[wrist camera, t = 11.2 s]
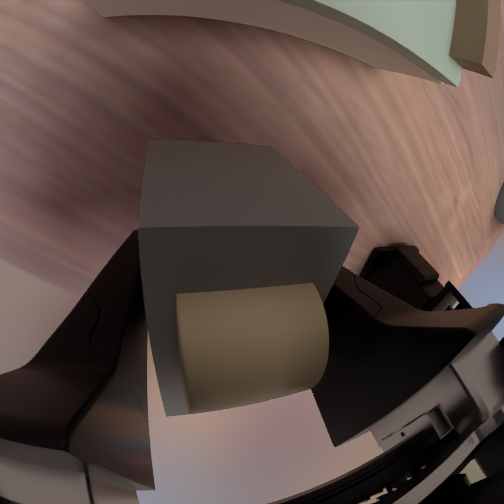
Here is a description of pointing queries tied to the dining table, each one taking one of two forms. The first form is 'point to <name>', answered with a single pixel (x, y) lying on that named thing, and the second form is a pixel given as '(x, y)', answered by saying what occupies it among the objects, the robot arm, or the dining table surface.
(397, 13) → the lid
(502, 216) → the grey-green cup
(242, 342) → the tape dispenser
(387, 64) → the box
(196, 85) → the dining table surface
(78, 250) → the dining table surface
